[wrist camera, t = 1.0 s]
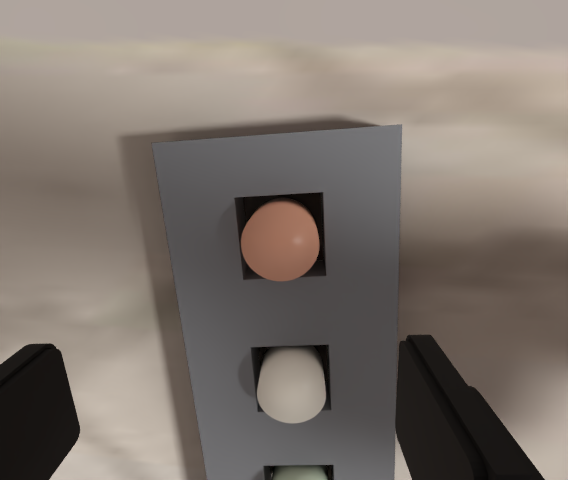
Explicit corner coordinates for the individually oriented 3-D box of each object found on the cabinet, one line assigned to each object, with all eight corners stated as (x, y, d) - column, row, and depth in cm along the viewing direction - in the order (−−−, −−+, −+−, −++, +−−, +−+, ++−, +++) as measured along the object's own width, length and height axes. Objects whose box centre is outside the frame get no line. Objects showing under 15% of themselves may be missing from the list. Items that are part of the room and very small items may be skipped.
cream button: (321, 337, 24) (324, 364, 21) (323, 390, 25) (327, 422, 22) (259, 339, 24) (253, 366, 21) (264, 392, 25) (260, 424, 22)
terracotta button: (315, 195, 21) (317, 203, 18) (318, 262, 22) (321, 279, 20) (245, 199, 22) (237, 208, 19) (252, 265, 23) (245, 283, 20)
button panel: (388, 127, 21) (401, 124, 18) (383, 510, 30) (392, 549, 27) (170, 143, 22) (151, 142, 19) (226, 511, 31) (218, 549, 28)
